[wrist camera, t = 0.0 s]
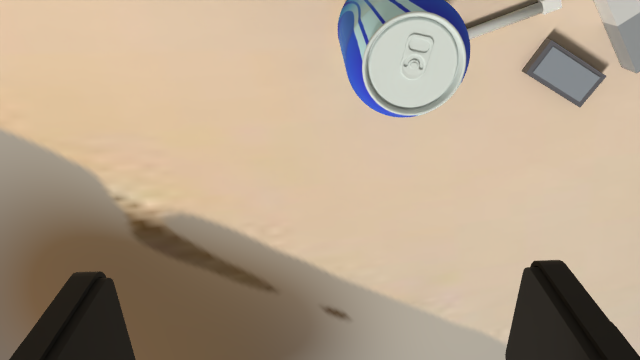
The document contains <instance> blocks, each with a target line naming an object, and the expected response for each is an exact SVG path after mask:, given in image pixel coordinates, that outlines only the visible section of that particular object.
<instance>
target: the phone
mask: <svg viewBox="0 0 640 360" xmlns="http://www.w3.org/2000/svg"><path fill="white" fill-rule="evenodd" d="M522 71H523V72H524V73H526V74H528V75H529V76H531V77H532V78H534V79H535V80H537V81H539V82H540V83H542V84H543V85H545V86H547V87H548V88H550V89H551V90H553V91H555V92H556V93H558V94H559V95H561V96H562V97H564V98H566V99H567V100H569V101H570V102H572V103H574V104H575V105H577V106H578V107H581V106H582V105H583V103H584V102H585V101H586V100H587V99H588V97H589V96H590V95H591V94H592V93H593V92H594V90H595V89H596V88H597V87H598V86H599V84H600V83H601V82H602V81H603V80H604V78H605V77H606V76H605V75H604V74H602V73H601V72H599V71H598V70H596V69H595V68H593V67H592V66H590V65H589V64H587V63H586V62H584V61H583V60H581V59H580V58H578V57H577V56H575V55H574V54H572V53H571V52H569V51H568V50H566V49H565V48H563V47H562V46H560V45H558V44H557V43H555V42H554V41H552V40H551V39H548V38H546V40H545V41H544V42H543V43H542V45H541V46H540V47H539V49H538V50H537V51H536V53H535V54H534V55H533V57H532V58H531V59H530V61H529V62H528V63H527V65H526V66H525V67H524V69H523V70H522Z"/></svg>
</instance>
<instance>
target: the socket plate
mask: <svg viewBox="0 0 640 360" xmlns="http://www.w3.org/2000/svg"><path fill="white" fill-rule="evenodd" d="M593 1H594V3H595V5H596V8H597V10H598V13H599V15H600V17H601V20H602V22H603V24H604V27H605V29H606V31H607V34H608V36H609V39H610V41H611V43H612V46H613V48H614V50H615V53H616V55H617V58H618V60H619V62H620V65H621V67H622V68H625V69H627V70H630V71H632V72H635V73H638V72H640V0H593Z"/></svg>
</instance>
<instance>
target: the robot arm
mask: <svg viewBox="0 0 640 360" xmlns="http://www.w3.org/2000/svg"><path fill="white" fill-rule="evenodd" d="M9 360H135V356H134V353H133V349H132V346H131V342H130V338H129V335H128V331H127V328H126V324H125V321H124V318H123V314H122V310H121V307H120V303H119V300H118V296H117V293H116V289H115V285H114V282H113V280H112V279H111V278H106V276H105V274H104V273H103V272H76V273H74V274H73V275H72V276H71V277H70V278H69V279H68V281H67V282H66V283H65V285H64V286H63V288H62V289H61V290H60V292H59V293H58V294H57V296H56V297H55V299H54V300H53V301H52V303H51V304H50V305H49V307H48V308H47V309H46V311H45V312H44V314H43V315H42V316H41V318H40V319H39V320H38V322H37V323H36V325H35V326H34V327H33V329H32V330H31V331H30V333H29V334H28V335H27V337H26V338H25V339H24V341H23V342H22V343H21V344H20V346H19V347H18V349H17V350H16V351H15V353H14V354H13V356H12V357H11V358H10V359H9ZM506 360H640V356H639V355H638V354H637V353H636V351H635V350H634V349H633V348H632V346H631V345H630V344H629V342H628V341H627V340H626V339H625V337H624V336H623V335H622V333H621V332H620V331H619V330H618V328H617V327H616V326H615V325H614V324H613V323H612V322H611V321H609V319H608V318H607V317H606V315H605V314H604V313H603V312H602V310H601V309H600V308H599V306H598V305H597V304H596V303H595V301H594V300H593V299H592V297H591V296H590V295H589V294H588V292H587V291H586V290H585V289H584V287H583V286H582V285H581V283H580V282H579V281H578V280H577V278H576V277H575V276H574V274H573V273H572V272H571V271H570V269H569V268H568V267H567V265H566V264H565V263H564V262H563V261H560V260H548V261H534V262H533V263H532V264H531V267H527V268H525V269H524V271H523V275H522V280H521V284H520V289H519V293H518V298H517V303H516V307H515V312H514V316H513V321H512V326H511V330H510V335H509V339H508V344H507V349H506Z"/></svg>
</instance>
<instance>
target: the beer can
mask: <svg viewBox="0 0 640 360" xmlns="http://www.w3.org/2000/svg"><path fill="white" fill-rule="evenodd" d="M338 38H339V42H340V46H341V51H342V55H343V59H344V63H345V67H346V71H347V75H348V78H349V81H350V83H351V86H352V88H353V89H354V91H355V92H356V94H357V95H358V97H359V98H360V99H361V100H362V101H363V102H364V103H365V104H366V105H368V106H369V107H370V108H372V109H374V110H375V111H377V112H379V113H382V114H385V115H388V116H393V117H413V116H418V115H422V114H425V113H427V112H430V111H432V110H434V109H436V108H438V107H439V106H441V105H442V104H444V103H445V102H446V101H447V100H448V99H449V98H450V97H451V96H452V95H453V94H454V93H455V91H456V90H457V88H458V87H459V85H460V84H461V82H462V80H463V78H464V76H465V73H466V71H467V67H468V64H469V59H470V40H469V35H468V31H467V28H466V26H465V24H464V22H463V20H462V18H461V17H460V15H459V14H458V13H457V11H456V10H455V9H454V8H453V7H452V6H451V5H450V4H449V3H447V2H446V1H444V0H347V1H346V3H345V4H344V6H343V8H342V10H341V13H340V17H339V21H338Z"/></svg>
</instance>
